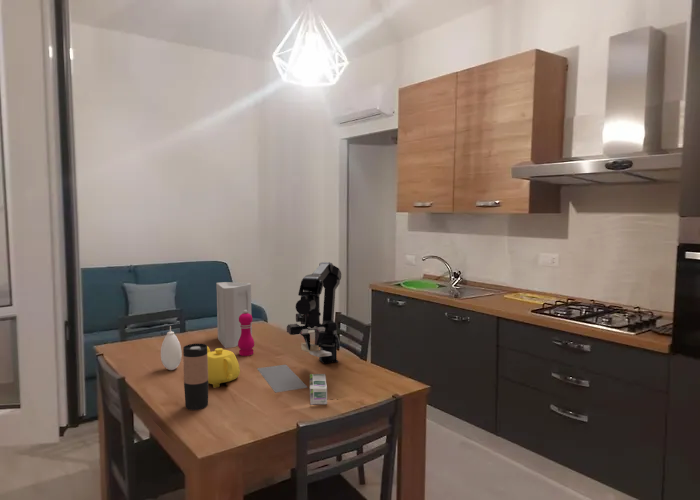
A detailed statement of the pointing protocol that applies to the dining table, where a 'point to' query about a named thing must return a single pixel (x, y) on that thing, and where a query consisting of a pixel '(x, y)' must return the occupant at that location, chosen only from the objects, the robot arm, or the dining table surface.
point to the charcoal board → (281, 378)
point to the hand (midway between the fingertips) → (312, 349)
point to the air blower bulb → (171, 351)
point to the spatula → (315, 350)
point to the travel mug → (195, 376)
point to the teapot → (221, 366)
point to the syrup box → (318, 389)
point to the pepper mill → (245, 335)
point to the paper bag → (231, 310)
